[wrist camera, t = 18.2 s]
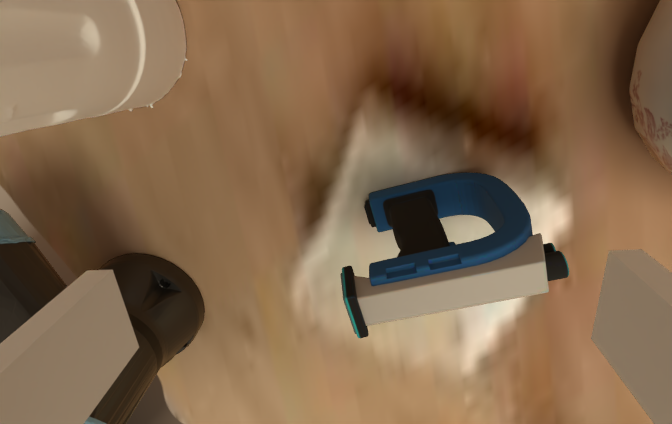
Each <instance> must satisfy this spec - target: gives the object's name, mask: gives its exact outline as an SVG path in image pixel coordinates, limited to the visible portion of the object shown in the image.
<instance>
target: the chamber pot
mask: <svg viewBox="0 0 672 424" xmlns="http://www.w3.org/2000/svg"><path fill="white" fill-rule="evenodd" d="M629 91H630V98H631V105H632V112H633V119H634V126H635V129H636V131H637V132H638V134H639V136H640V137H641V139H642V141H643V142H644V144H645V146H646V147H647V149H648V151H649V152H650V154H651V156H652V157H653V158H654V159H655V160H656V161H657V162H658V163H659V164H660V165H661V166H662V167H663V168H664V169H666V170H667V171H668V172H669V173H670V174H671V175H672V0H660V1H659V3H658V5H657V7H656V9H655V11H654V13H653V15H652V17H651V19H650V21H649V23H648V25H647V27H646V29H645V31H644V33H643V35H642V37H641V39H640V41H639V43H638V46H637V51H636V56H635V61H634V67H633V72H632V77H631V82H630V88H629Z"/></svg>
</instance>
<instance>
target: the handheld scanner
mask: <svg viewBox="0 0 672 424" xmlns="http://www.w3.org/2000/svg"><path fill="white" fill-rule="evenodd" d="M364 207H365V210H366V214H367V217H368V221H369V224H371V226H372V227H377V231H378V232H383V231H387V230H391V229H393V232H394V236H395V240H396V242H397V245H398V247H399V249H400V250H401V251H400V253H399V254H398V256H397V258H392V259H387V260H383V261H379V262H375V263H371V264H370V266H369V278H365V277H357V276H355V275H354V272H353V269H352V267H351V266H347V267H343V268H342V273H341V282H342V291H343V300H344V303H345V306H346V309H347V311H348V314H349V317H350V320H351V323H352V326H353V329H354V332H355V334H357V336H358V338H363V337H367V336H368V329H367V326H369V325H374V324H380V323H385V322H390V321H396V320H401V319H407V318H412V317H418V316H423V315H428V314H434V313H439V312H445V311H450V310H455V309H461V308H466V307H472V306H477V305H483V304H488V303H493V302H499V301H504V300H509V299H515V298H520V297H525V296H531V295H536V294H541V293H547V292H548V291H549V288H548V281H551V280H557V279H562V278H567V277H568V275H569V268H568V264H567V261H566V259H565V257H564V255H563V254H562V252H560V251H556V250H555V247H554V245H553V244H552V243H548V244H543V241H542V236H541V234H540V233H539V234H536V235H533V234H532V226H531V219H530V215H529V213H528V211H527V209H526V207H525V205H524V203H523V202H522V201H521V199H520V198H519V197H518V196H517V195H516V193H515V192H514V191H513V190H512V189H511V188H510V187H509V186H508V185H507V184H505V183H504V182H503V181H501V180H500V179H498V178H496V177H494V176H491V175H487V174H481V173H453V174H446V175H440V176H436V177H432V178H428V179H424V180H420V181H416V182H412V183H408V184H404V185H400V186H396V187H392V188H388V189H384V190H380V191H376V192H372V193H370V194H369V200H367V201H366V202H365V206H364ZM454 215H473V216H478V217H481V218H483V219H485V220H486V221H487V222H488V223H489V224H490V225H491V226H492V228H493V229H494V231H495V232H494V233H493V234H491V235H489V236H486V237H484V238H481V239H478V240H474V241H471V242H466V243H462V244H457V245H456V244H455V243H454V242H448V239H447V236H446V234H445V231H444V229H443V226H442V224H441V222H440V220H439V218H444V217H448V216H454Z"/></svg>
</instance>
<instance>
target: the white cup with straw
mask: <svg viewBox="0 0 672 424" xmlns="http://www.w3.org/2000/svg"><path fill="white" fill-rule="evenodd" d="M185 54H186V35H185V29H184V23H183V19H182V16H181V12H180V9H179V7H178V5H177V2H176V0H0V137H2V136H6V135H10V134H14V133H19V132H23V131H27V130H32V129H37V128H43V127H48V126H53V125H59V124H64V123H68V122H72V121H76V120H80V119H84V118H92V117H98V116H102V115H106V114H110V113H115V112H120V111H124V110H129V111H133V110H132V109H133V108H138V107H143V106H147V107H148V105H150V107H151V108H153V106H152V104H154V103H155V102H156V101H159V100H160V99H161V98H163V97H164V95H166V94H167V93H168V92H169V91H170V90H171V88H172V87H173V86H174V84H175V83H176V81H177V80H178V78H180V77H181V75H182V73H181V72H182V69H183V65H184V62H185V60H187V59H186V58H185V57H186V56H185ZM187 61H188V60H187Z"/></svg>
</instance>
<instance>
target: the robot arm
mask: <svg viewBox="0 0 672 424" xmlns="http://www.w3.org/2000/svg"><path fill="white" fill-rule="evenodd" d="M203 319H204V304H203V300H202V297H201V294H200V292H199V290H198V288H197V287H196V285H195V284H194V282H193V281H192V280H191V279H190V278H189V277H188V276H187V275H186V274H185V273H184V272H183V271H182V270H180V269H179V268H178V267H176V266H175V265H173V264H171V263H169V262H168V261H165V260H163V259H161V258H158V257H154V256H150V255H145V254H128V255H122V256H119V257H116V258H114V259H112V260H110V261H109V262H107V263H106V264H105V265H103V266H102V267H101V268H100V269H99V270H87V271H86V272H85V273H83V274H82V275H81V276H80V277H79V278H77V279H76V280H75V281H74V282H73V283H72V284H71V285H69V286H68V287H67V285H66V284H65V283H64V281H63V280H62V279H61V278H60V276H59V275H58V274H57V272H56V271H55V270H54V269H53V267H52V266H51V264H50V263H49V262H48V261H47V259H46V258H45V257H44V255H43V254H42V253H41V251H40V250H39V249H38V247H37V246H36V245H35V240H34V239H33V238H31V237H28V236H27V235H26V233H25V232H24V231H23V230H22V229H21V228H20V227H19V225H18V224H17V223H16V222H15V221H14V220H13V218H12V217H11V216H10V215H9V214H8V213H7V212H5V211H4V210H2V209H0V424H126V423H127V421H128V420H129V418H130V417H131V415H132V413H133V412H134V410H135V409H136V407H137V405H138V403H139V402H140V400H141V399H142V397H143V395H144V394H145V392H146V390H147V389H148V387H149V386H150V384H151V382H152V381H153V379H154V377H155V375H156V374H157V372H158V371H159V369H160V368H161V367H162V366H164V365H165V364H166V363H167V362H169V361H170V360H171V359H172V358H173V357H174V356H175V355H176V354H178V353H180V352H181V351H183V350H184V349H185V348H186V347H187V346H188V345H189V344H190V343H191V342H192V341H193V339H194V338H195V336H196V334H197V333H198V331H199V329H200V327H201V325H202V323H203ZM591 339H592V340H593V342H594V343H595V345H596V346H597V347H598V349H599V350H600V351H601V353H602V354H603V355H604V357H605V358H606V359H607V361H608V362H609V363H610V365H611V366H612V368H613V369H614V370H615V372H616V373H617V374H618V376H619V377H620V378H621V380H622V381H623V382H624V384H625V385H626V386H627V388H628V389H629V390H630V392H631V393H632V395H633V396H634V397H635V399H636V400H637V401H638V403H639V404H640V405H641V407H642V408H643V409H644V411H645V412H646V413H647V415H648V416H649V417H650V419H651V420H652V422H653V423H654V424H672V273H671V272H670V271H669V270H668V269H666V268H665V267H664V266H662V265H661V264H660V263H659V262H657V261H656V260H655V259H653V258H652V257H651V256H650V255H648V254H647V253H646V252H644V251H643V250H642V249H639V250H612V251H609V253H608V258H607V263H606V268H605V273H604V278H603V282H602V287H601V292H600V297H599V302H598V307H597V312H596V317H595V322H594V327H593V332H592V337H591Z"/></svg>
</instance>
